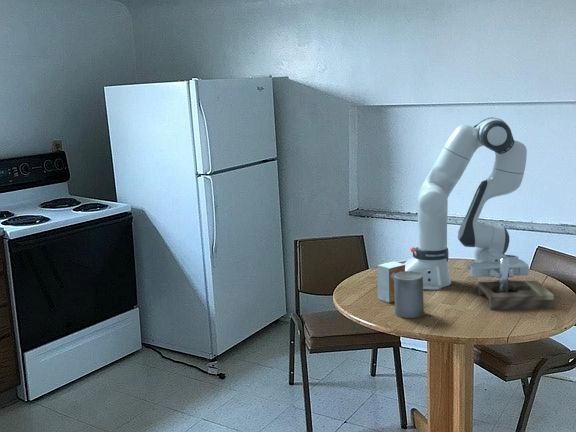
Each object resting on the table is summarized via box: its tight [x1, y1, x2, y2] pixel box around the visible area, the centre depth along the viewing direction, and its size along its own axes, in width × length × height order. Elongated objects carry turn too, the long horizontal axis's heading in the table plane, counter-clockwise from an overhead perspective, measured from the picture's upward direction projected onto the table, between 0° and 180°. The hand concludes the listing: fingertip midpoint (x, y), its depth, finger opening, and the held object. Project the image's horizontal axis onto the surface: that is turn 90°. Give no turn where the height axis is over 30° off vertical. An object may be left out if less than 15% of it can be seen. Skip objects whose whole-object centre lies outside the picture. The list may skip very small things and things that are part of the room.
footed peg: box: [498, 257, 509, 293], centre depth 222 cm, size 6×6×15 cm
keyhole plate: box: [478, 280, 555, 311], centre depth 223 cm, size 21×17×4 cm
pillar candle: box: [394, 271, 425, 319], centre depth 215 cm, size 10×10×15 cm
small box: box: [377, 260, 405, 303], centre depth 231 cm, size 8×6×13 cm
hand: (504, 275), depth 221 cm, fingers closed on footed peg, 3 cm apart
